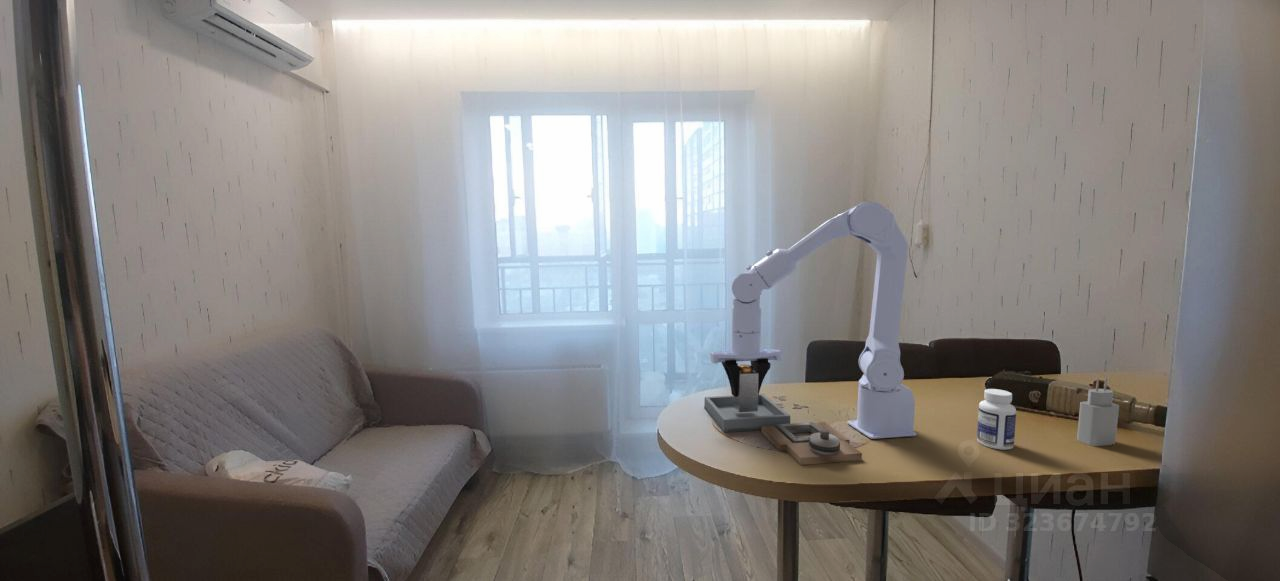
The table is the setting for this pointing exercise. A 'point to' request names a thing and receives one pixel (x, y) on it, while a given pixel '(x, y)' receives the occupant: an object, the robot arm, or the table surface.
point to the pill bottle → (996, 420)
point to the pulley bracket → (812, 443)
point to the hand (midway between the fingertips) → (745, 394)
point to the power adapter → (1098, 418)
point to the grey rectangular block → (747, 390)
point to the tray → (744, 414)
